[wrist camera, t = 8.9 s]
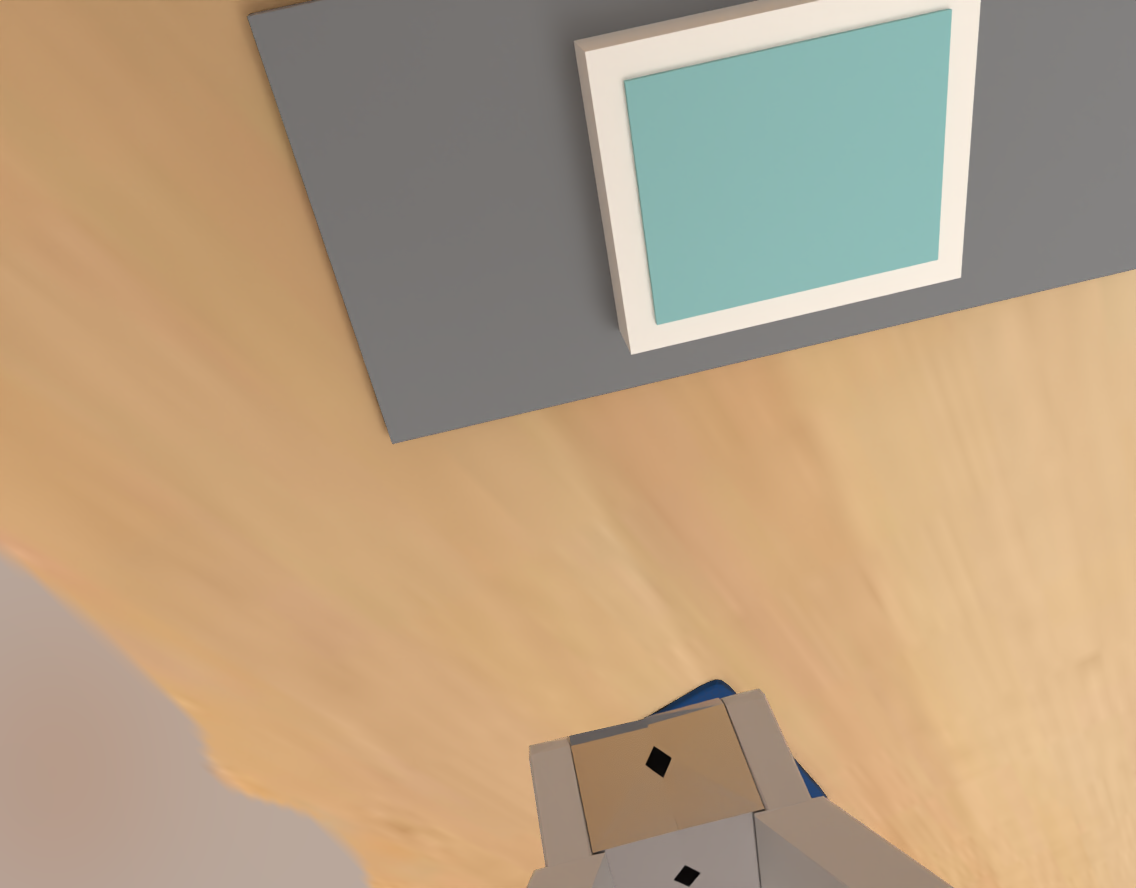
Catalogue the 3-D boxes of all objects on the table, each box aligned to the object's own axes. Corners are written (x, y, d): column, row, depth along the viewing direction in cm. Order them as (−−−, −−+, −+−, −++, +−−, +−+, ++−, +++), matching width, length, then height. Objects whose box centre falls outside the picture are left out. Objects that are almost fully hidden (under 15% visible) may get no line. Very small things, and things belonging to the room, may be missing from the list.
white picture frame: (586, 53, 26) (987, -35, 27) (573, 40, 28) (948, -42, 28) (632, 357, 32) (963, 279, 32) (619, 330, 33) (932, 257, 34)
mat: (250, 13, 27) (247, 17, 26) (1219, -195, 28) (1233, -196, 27) (392, 435, 35) (392, 444, 34) (1135, 261, 36) (1145, 266, 36)
